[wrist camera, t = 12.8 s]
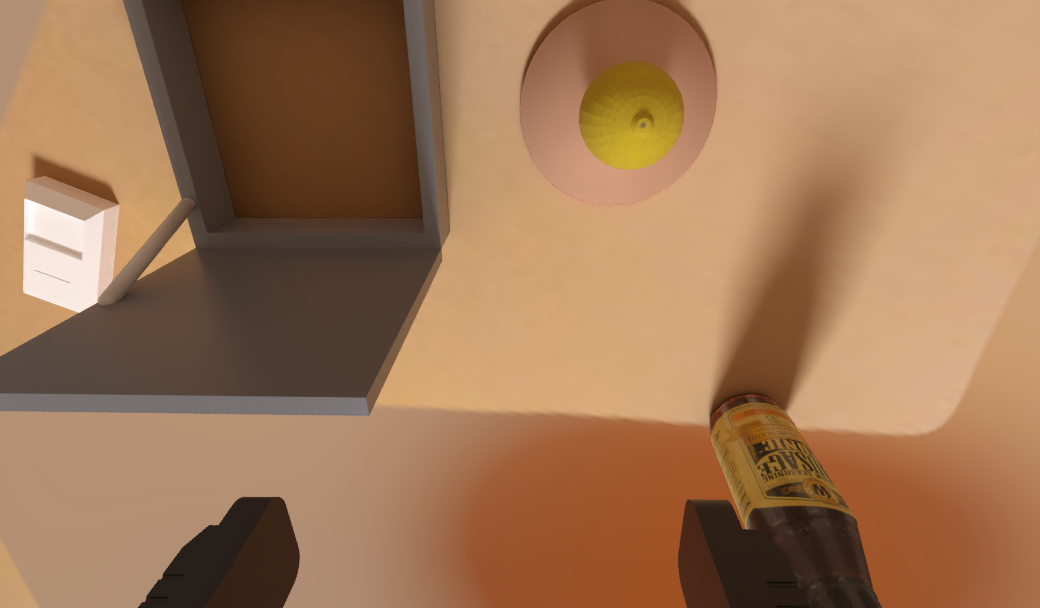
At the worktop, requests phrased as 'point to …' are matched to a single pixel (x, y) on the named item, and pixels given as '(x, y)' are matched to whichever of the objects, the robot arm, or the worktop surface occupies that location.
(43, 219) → the white rocker switch
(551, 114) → the saucer
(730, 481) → the sauce bottle
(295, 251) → the case
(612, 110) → the lemon
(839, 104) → the worktop surface
